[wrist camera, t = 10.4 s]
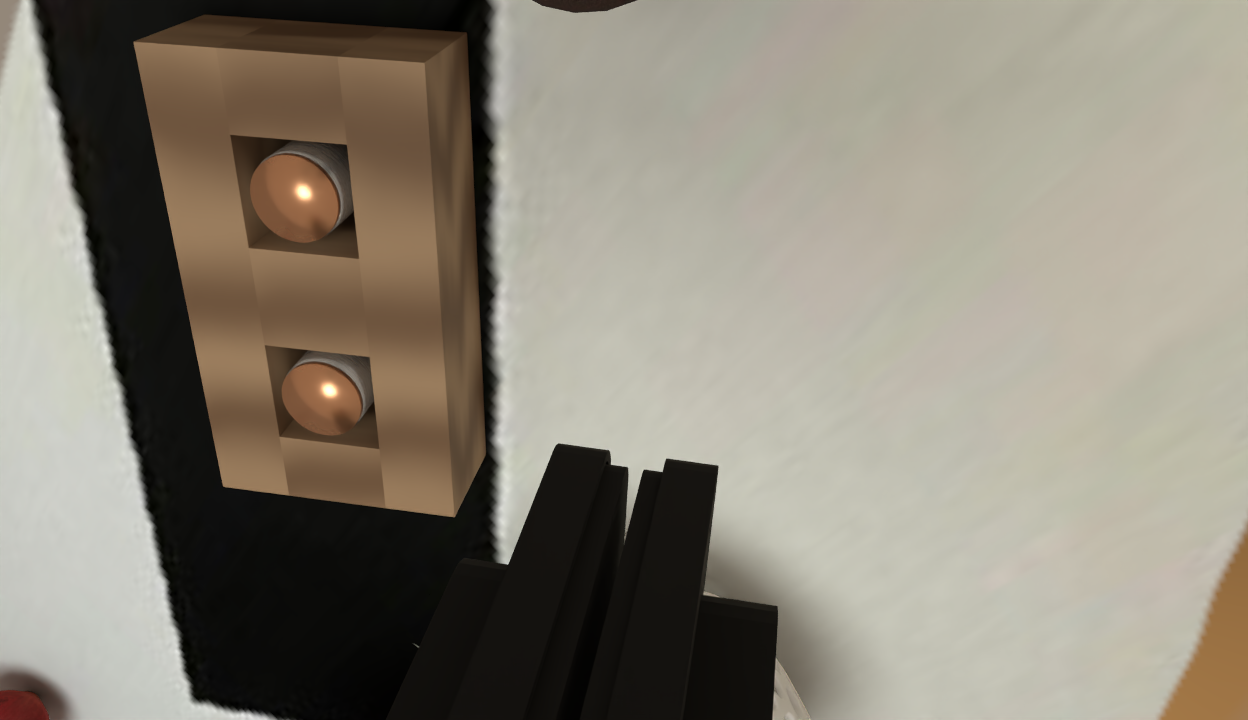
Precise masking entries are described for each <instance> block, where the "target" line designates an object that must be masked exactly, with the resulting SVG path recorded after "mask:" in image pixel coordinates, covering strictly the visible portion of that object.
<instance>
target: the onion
mask: <svg viewBox="0 0 1248 720" xmlns="http://www.w3.org/2000/svg"><path fill="white" fill-rule="evenodd" d="M0 720H49V714H48V712H47V710H46V708H45V707H44V705H43V703H42V702H41V700H40V698H39V696H38V695H37V694H35V693H33V692H30V691H15V690H6V691H0Z"/></svg>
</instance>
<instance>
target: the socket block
mask: <svg viewBox="0 0 1248 720" xmlns="http://www.w3.org/2000/svg"><path fill="white" fill-rule="evenodd" d="M134 46H135V51H136V56H137V61H138V66H139V71H140V76H141V81H142V86H143V91H144V96H145V101H146V106H147V111H148V116H149V121H150V125H151V130H152V135H153V140H154V145H155V150H156V155H157V160H158V165H159V170H160V175H161V180H162V185H163V190H164V195H165V200H166V205H167V210H168V215H169V220H170V225H171V230H172V235H173V240H174V245H175V249H176V254H177V259H178V264H179V269H180V274H181V279H182V284H183V289H184V294H185V299H186V304H187V309H188V314H189V319H190V324H191V329H192V334H193V339H194V344H195V349H196V354H197V359H198V364H199V368H200V373H201V378H202V383H203V388H204V393H205V398H206V403H207V408H208V413H209V418H210V423H211V428H212V433H213V438H214V443H215V448H216V453H217V458H218V463H219V468H220V473H221V478H222V483H223V487H230V488H237V489H245V490H253V491H260V492H268V493H275V494H283V495H290V496H298V497H306V498H313V499H321V500H328V501H336V502H344V503H351V504H359V505H366V506H374V507H381V508H389V509H397V510H404V511H412V512H419V513H427V514H435V515H442V516H450V517H455V515H456V513H457V511H458V509H459V507H460V505H461V503H462V501H463V499H464V497H465V495H466V493H467V491H468V489H469V487H470V485H471V483H472V481H473V479H474V477H475V475H476V473H477V471H478V469H479V467H480V465H481V463H482V461H483V459H484V457H485V455H486V442H485V420H484V398H483V375H482V353H481V331H480V309H479V287H478V265H477V242H476V220H475V198H474V176H473V154H472V132H471V109H470V87H469V65H468V43H467V33H466V32H452V31H437V30H422V29H408V28H393V27H378V26H364V25H349V24H334V23H320V22H305V21H290V20H276V19H261V18H246V17H232V16H217V15H202V16H200V17H197V18H194V19H192V20H189V21H187V22H184V23H181V24H179V25H176V26H174V27H171V28H168V29H166V30H163V31H160V32H158V33H155V34H153V35H150V36H147V37H145V38H142V39H140V40H137V41H134ZM292 140H298V141H310V142H322V143H334V144H346V145H347V150H348V159H349V169H350V178H351V187H352V197H353V206H354V212H353V213H351V214H350V215H349V216H348V217H347V218H346V219H345V220H344V221H343V222H342V223H341V224H340V225H338V226H337V227H336V228H335V229H334V230H333V231H332V232H331V233H330V234H328V235H327V236H325V237H323V238H321V239H319V240H316V241H313V242H307V243H299V242H293V241H290V240H287V239H285V238H282V237H280V236H279V235H277V234H276V233H274V232H273V231H271V230H270V229H269V228H268V227H267V226H266V225H265V224H264V223H263V222H262V220H261V219H260V218H259V216H258V215H257V213H256V211H255V209H254V207H253V204H252V200H251V195H250V184H251V179H252V176H253V174H254V172H255V170H256V169H257V167H258V166H259V165H260V163H261V162H262V161H263V160H264V159H266V158H267V157H269V156H270V155H272V154H273V153H274V152H276V151H277V150H279V149H280V148H282V147H283V146H285V145H286V144H288V143H289V142H291V141H292ZM308 350H312V351H321V352H330V353H339V354H348V355H357V356H365V357H370V365H371V375H372V384H373V393H374V402H373V403H372V404H371V406H370V407H369V409H368V410H367V411H366V413H365V414H364V415H363V417H362V418H361V420H360V421H359V422H358V423H357V424H356V425H355V426H354V427H353V428H352V429H350V430H349V431H347V432H345V433H343V434H340V435H332V436H329V435H321V434H318V433H315V432H312V431H310V430H308V429H306V428H305V427H303V426H301V425H300V424H299V423H298V422H297V421H296V420H295V419H294V418H293V417H292V416H291V415H290V414H289V412H288V411H287V409H286V407H285V405H284V402H283V398H282V385H283V382H284V379H285V378H286V375H287V374H288V372H289V371H290V370H291V369H292V367H293V366H294V365H295V364H296V363H297V362H298V361H299V360H300V359H301V357H302V356H303V355H304V354H305V353H306V352H307V351H308Z"/></svg>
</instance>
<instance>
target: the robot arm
mask: <svg viewBox="0 0 1248 720" xmlns="http://www.w3.org/2000/svg"><path fill="white" fill-rule="evenodd" d="M717 476H718V466H716V465H709V464H702V463H695V462H688V461H681V460H673V459H666V461H665V465H664V469H663V472H657V471H650V470H644V471H643V473H642V477H641V481H640V485H639V489H638V493H637V497H636V500H635V504H634V508H633V512H632V516H631V520H630V524H629V528H628V532H627V536H626V540H625V543H624V536H625V521H626V505H627V490H628V467H622V466H615V465H611V456H610V451H609V450H602V449H594V448H587V447H580V446H573V445H566V444H557V445H556V446H555V448H554V450H553V453H552V455H551V458H550V460H549V463H548V465H547V468H546V471H545V473H544V476H543V478H542V481H541V483H540V486H539V488H538V491H537V493H536V496H535V498H534V501H533V504H532V506H531V509H530V511H529V514H528V516H527V519H526V521H525V524H524V526H523V529H522V531H521V534H520V537H519V539H518V542H517V544H516V547H515V549H514V552H513V554H512V557H511V559H510V562H509V564H508V565H506V564H500V563H493V562H487V561H480V560H474V559H467V558H464V559H463V560H462V561H460V562H459V563H458V565H457V567H456V569H455V571H454V572H453V574H452V576H451V578H450V581H449V583H448V585H447V587H446V589H445V592H444V594H443V596H442V598H441V600H440V602H439V605H438V607H437V609H436V611H435V613H434V616H433V618H432V620H431V622H430V624H429V626H428V629H427V631H426V633H425V635H424V637H423V640H422V642H421V644H420V646H419V648H418V650H417V653H416V655H415V657H414V659H413V661H412V663H411V666H410V668H409V670H408V672H407V674H406V677H405V679H404V681H403V683H402V685H401V687H400V690H399V692H398V694H397V696H396V698H395V701H394V703H393V705H392V707H391V709H390V711H389V714H388V716H387V718H386V720H772V718H773V700H774V681H775V662H776V643H777V625H778V608H777V606H772V605H766V604H759V603H753V602H746V601H740V600H733V599H727V598H720V597H714V596H707V595H703V593H704V585H705V577H706V568H707V560H708V552H709V543H710V535H711V527H712V518H713V510H714V502H715V493H716V485H717Z"/></svg>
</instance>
